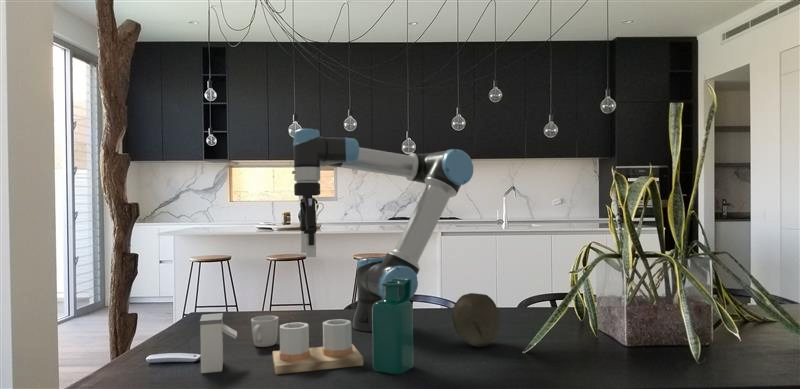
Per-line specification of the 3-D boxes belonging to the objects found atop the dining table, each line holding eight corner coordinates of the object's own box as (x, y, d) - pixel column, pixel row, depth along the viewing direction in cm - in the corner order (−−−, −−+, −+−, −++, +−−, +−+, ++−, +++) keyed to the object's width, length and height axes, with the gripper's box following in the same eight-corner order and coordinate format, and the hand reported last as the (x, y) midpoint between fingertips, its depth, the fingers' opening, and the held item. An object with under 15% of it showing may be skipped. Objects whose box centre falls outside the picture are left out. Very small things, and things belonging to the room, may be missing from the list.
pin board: (352, 351, 154) (352, 319, 154) (363, 365, 141) (362, 330, 141) (272, 358, 148) (272, 325, 148) (275, 374, 135) (275, 337, 135)
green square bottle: (398, 376, 132) (397, 284, 132) (369, 371, 136) (368, 282, 136) (419, 365, 140) (417, 279, 140) (391, 360, 144) (389, 277, 145)
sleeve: (307, 351, 148) (307, 321, 148) (310, 359, 140) (310, 327, 140) (278, 353, 146) (278, 323, 146) (280, 361, 138) (280, 330, 138)
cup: (267, 352, 155) (267, 323, 155) (241, 350, 157) (241, 322, 157) (283, 342, 166) (283, 315, 166) (258, 341, 167) (258, 315, 167)
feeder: (237, 360, 147) (236, 312, 147) (237, 369, 139) (236, 318, 139) (202, 364, 144) (202, 314, 145) (200, 373, 137) (199, 321, 137)
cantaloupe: (510, 344, 159) (509, 292, 159) (482, 355, 148) (481, 299, 148) (470, 336, 168) (469, 287, 168) (441, 346, 158) (440, 294, 158)
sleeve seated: (348, 347, 151) (348, 318, 151) (354, 354, 144) (353, 324, 144) (321, 350, 149) (320, 320, 149) (325, 357, 141) (324, 326, 142)
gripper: (290, 183, 171) (291, 251, 171) (298, 180, 147) (299, 259, 147) (314, 183, 173) (315, 250, 173) (326, 180, 150) (327, 258, 149)
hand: (308, 255), depth 160 cm, fingers open, 13 cm apart
